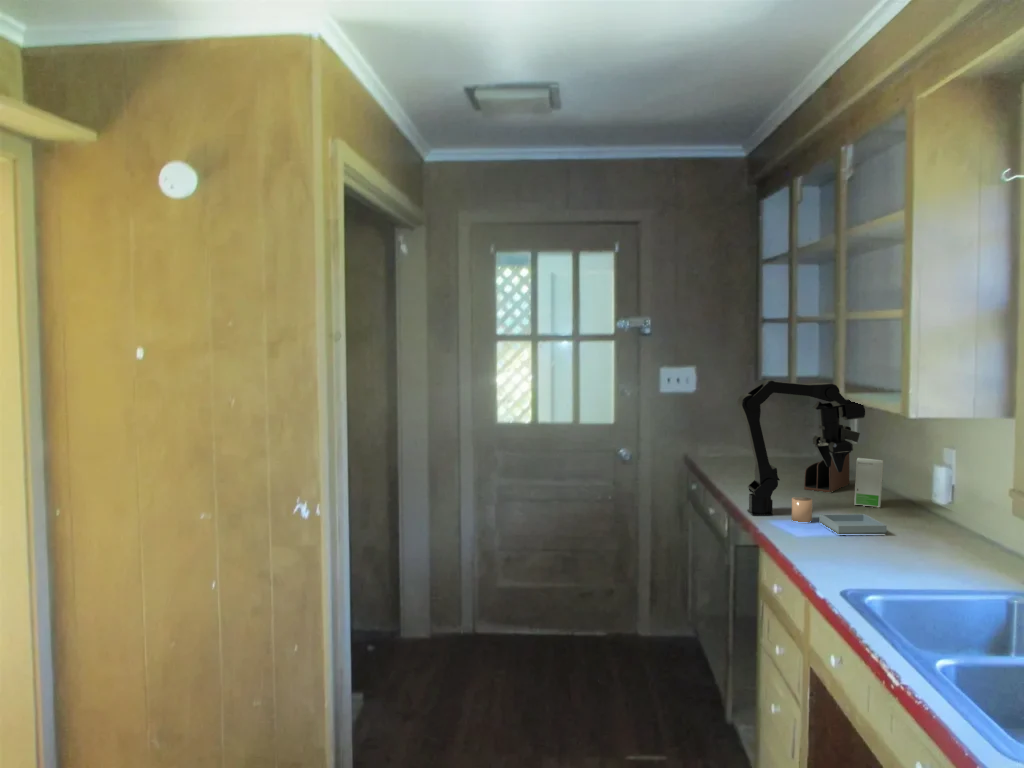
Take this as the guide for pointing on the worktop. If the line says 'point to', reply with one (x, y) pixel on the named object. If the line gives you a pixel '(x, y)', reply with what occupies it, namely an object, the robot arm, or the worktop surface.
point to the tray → (853, 524)
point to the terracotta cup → (801, 509)
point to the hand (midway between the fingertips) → (834, 469)
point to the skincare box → (868, 482)
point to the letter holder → (826, 476)
